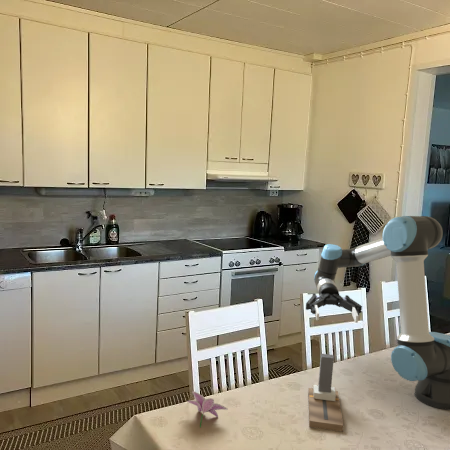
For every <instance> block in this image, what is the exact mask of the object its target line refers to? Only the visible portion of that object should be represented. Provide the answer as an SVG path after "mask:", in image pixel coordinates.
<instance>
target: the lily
mask: <svg viewBox="0 0 450 450" xmlns="http://www.w3.org/2000/svg"><path fill="white" fill-rule="evenodd" d="M191 392H192V395H193V397H194V399H195V400H187V401H186V402H187V403H189V404H191V405H194V406H196V407H197V412H199V413H201V412H202V413H201V417H200V422H199V428H201V427H202V420H203V417H204V414H205V413H210V414H211V415H213V416H215V417H216V418H218V417H219V415H218V414H219V413H218V412H217V411H218V410H225V411H227V410H228V408H227V407H225V406H224V405H221V404H220V403H217V402H216V403H215V399H214V398H205V397H204V396H203V395H202V394H200V393H198V392H196V391H193V390H192V391H191Z"/></svg>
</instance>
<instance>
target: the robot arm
mask: <svg viewBox="0 0 450 450" xmlns="http://www.w3.org/2000/svg"><path fill="white" fill-rule="evenodd" d="M443 236H444V235H443V227H442V225H441V223H439V221H437V219H435V218H433V217H431V216H427V215H420V216H418V215H415V216H414V215H403V216H396V217H393V218H391V219H390V220H389V221H388V222H387V223H386V224H385V226H384V228H383V230H382V235H381V238H379V239H375V240H373V241H370V242H367V243H364V244H360V245H358V246H355V247H352V248H347V249H346V248H345V249H344V248H342V247H341V246H339V245H337V244H332V243H328V244H325V245H324V246H323V249H322V252H321V253H320V254H321V255H320V260H319V264H318V268H317V270H316V271H315V273H314V277H313V278H314V279H313V280H314V283H315V286H316V289H317V293H318V295H317V294H316V293H314V292H313V293H312V296H311V297H310V298H309V300H307V301H306V303H305V310H306V311H308V310H310V313H312V315H314V316H315V320H316V321H319V319H320V312H319V309H320V308H321V307H324V306H327V305H328V306H331V305H332V306H336V307H339V308H343V309H345V310H347V311H349V312H351V315H352V318H353V320H354V323H357V324H358V322H359V316H360V314H361V313H362V308H363V306H362V305H361V304H359V303H358V302H357V301H355V300H353V299H352V298H351V297H350V296H349V295H345V296H342V295H340V292H339V290H338V286H337V284H336V282H335V280H336V276H337V274H338V269H342V268H352V267H355V268H357V267H362V266H364V265H366V264H367V263H371V262H374V261H377V260H381V259H385V258H389V257H390V258H391V259H393V260H394V261H395V264H396V265H395V266H396V276H397V288H398V289H397V293H398V305H399V321H400V334H398V336H396V344H397V346H396V347H394V348H393V350H392V351H391V353H390V361H391V364H392V367H393V369H394V371H395V372H396V373H397V374H398V376H400V377H401V378H403V380H406V381H409V382H417V383H416V384H415V387H414V396H415V398H416V399H417V400H418V401H419V402H421V403H423V404H425V405H427V406H430V407H432V408H436V409H441V410H450V334H449V335H448V334H447V333H446V334H445V333H442V332H437V331H429V329H430V328H429V317H428V303H427V291H426V290H427V289H426V277H425V276H426V275H425V263H424V261H425V259H427V257H428V256H429V251H428V250H429V249H433V248H435V247H436V246H438V245H439V243H440V242H441V241H442V239H443Z"/></svg>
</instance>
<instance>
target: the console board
mask: <svg viewBox="0 0 450 450" xmlns="http://www.w3.org/2000/svg"><path fill="white" fill-rule="evenodd" d="M307 393H308V396H307V397H308V399H307V400H308V402H307V403H308V427H309V428H313V429H314V428H315V429H320V430H328V431H335V432H343V431H344V420H343V415H342V409H341V403H340V402H341V401H340V397H339V391H337V390H335V394H336V397H335V401H329V400H322V399H314V395H313V388H312V387H308V391H307Z"/></svg>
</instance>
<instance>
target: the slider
mask: <svg viewBox="0 0 450 450" xmlns="http://www.w3.org/2000/svg"><path fill="white" fill-rule="evenodd" d="M333 369H334V354H329V353H320V362H319V373H318V385H317V384H313V395H314V399H322V400H329V401H335V397H336V394H335V391H336V390H335V388H336V387H335V386H332V385H333V384H332V383H333V382H332V381H333V373H334V371H333Z"/></svg>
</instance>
